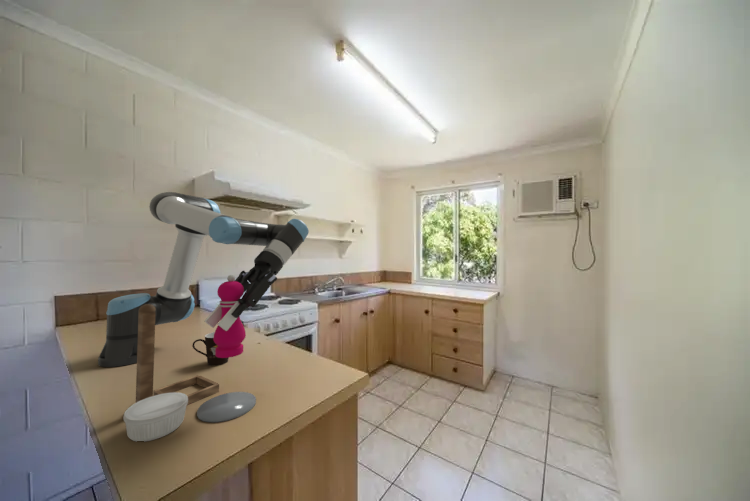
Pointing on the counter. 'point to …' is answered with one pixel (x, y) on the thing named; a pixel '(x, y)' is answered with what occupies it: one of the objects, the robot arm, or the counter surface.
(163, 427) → the ramekin
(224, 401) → the slate coaster
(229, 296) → the pepper mill
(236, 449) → the counter surface
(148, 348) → the wooden stand
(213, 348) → the coffee mug
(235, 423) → the counter surface
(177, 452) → the counter surface
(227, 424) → the counter surface
